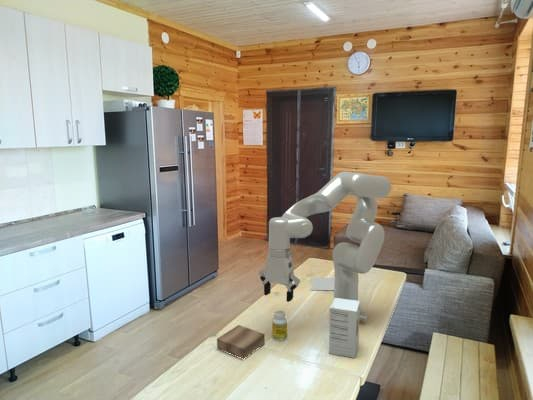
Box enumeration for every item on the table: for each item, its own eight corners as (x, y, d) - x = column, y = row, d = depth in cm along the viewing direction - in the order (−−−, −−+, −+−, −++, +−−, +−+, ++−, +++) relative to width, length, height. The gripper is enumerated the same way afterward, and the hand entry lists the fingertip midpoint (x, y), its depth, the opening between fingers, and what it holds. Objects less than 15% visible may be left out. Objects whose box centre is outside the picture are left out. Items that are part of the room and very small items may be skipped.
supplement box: (355, 359, 129) (357, 312, 126) (328, 353, 132) (329, 307, 129) (359, 344, 138) (360, 300, 135) (333, 340, 141) (334, 296, 138)
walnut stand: (264, 344, 138) (264, 333, 138) (244, 360, 129) (243, 349, 128) (238, 334, 145) (238, 324, 145) (217, 349, 136) (216, 338, 135)
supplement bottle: (284, 333, 146) (284, 308, 145) (288, 340, 141) (289, 315, 139) (270, 334, 145) (270, 310, 143) (274, 342, 140) (274, 317, 138)
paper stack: (356, 279, 200) (356, 278, 200) (363, 299, 176) (363, 298, 176) (311, 278, 203) (311, 277, 202) (311, 298, 178) (311, 296, 178)
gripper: (305, 253, 136) (304, 299, 138) (265, 245, 145) (264, 288, 148) (294, 259, 129) (293, 307, 132) (253, 250, 139) (253, 295, 142)
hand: (278, 297), depth 140 cm, fingers open, 9 cm apart
